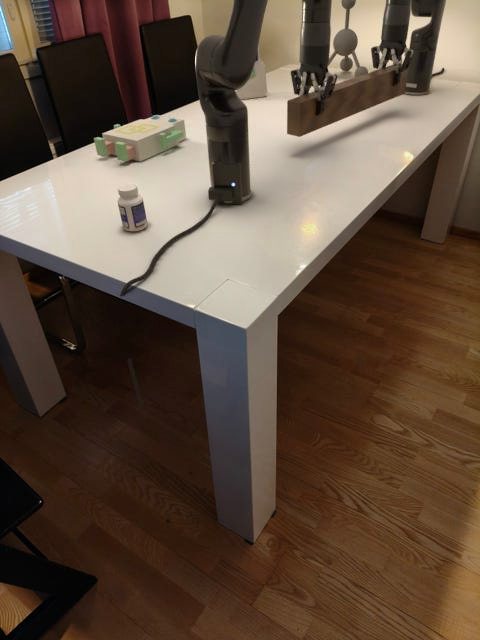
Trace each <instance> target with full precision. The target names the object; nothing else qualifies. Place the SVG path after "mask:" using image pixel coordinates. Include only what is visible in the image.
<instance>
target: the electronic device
mask: <svg viewBox="0 0 480 640" xmlns="http://www.w3.org/2000/svg"><path fill="white" fill-rule="evenodd" d="M260 49H261V48H260V43H259V44H258V50H257V55H256V60H255V64H254V68H253V71H252V74H251V77H250V78H249V80H248V82H247V83H246V84H245V85H244V86H243V87H242V88H240V89H238V90H235V91H236V93H237V95H238V97H239V98H240V100H241V101H242V100H247V99H255V98H256V99H257V98H265V97H266V96H267V94H268V84H267V83H268V82H267V75H266V74H267V73H266V66H265V62H264V61H263V60H262V59H261V56H260V52H261V50H260Z"/></svg>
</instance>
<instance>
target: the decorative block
mask: <svg viewBox="0 0 480 640" xmlns="http://www.w3.org/2000/svg"><path fill="white" fill-rule="evenodd" d="M186 133H187V132H186V124H185V119H183V118H177V117H170V116H166V115H160V114H155V115H152V116H151V117H148V118H145V119H141V118H140V119H137V120H134V121H132V122H129V123H127V124H123V125H122V126H121V124H119V123H116V124H113V129H110V130H108V131H105V132H102V133H101V135H102V137H100V136H97V137H93V142H94V145H95V150H96V155H97V156H99V157H107V156H109V155H111V156H116V158H117V160H118V161H120V162H128V161H130V160H132V161H137V162H143V161H145V160H147V159H149V158H152V157H155V156H156V155H158V154H161V153H163V152H165V151H167V150H170V149H172V148H175V147H176V146H178V143H180V142H182V141H185V140H186V139H187V134H186Z"/></svg>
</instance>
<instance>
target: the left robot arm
mask: <svg viewBox="0 0 480 640" xmlns="http://www.w3.org/2000/svg"><path fill="white" fill-rule="evenodd" d="M268 3H269V0H233V5H232V10H231V14H230V17H229V23H228V27H227V30H226V34H225V35H223V34H222V35H220V34H209V35H207V36H206V37H203V39H201V41H200V42H199V44H198V46H197V47H196V51H195V58H194V59H195V60H194V65H195V66H194V68H195V77H196V83H197V84H196V85H197V91H198V93H197V94H198V99H199V105H200V108H201V111H202V113H203V114H204V122H205V132H206V144H207V155H208V166H209V167H208V168H209V179H210V187H208V191H207V193H208V200H209V201H214V202H213V203H212V204H211V207H210V208H209V210H208V212H207V213H206V215H205V216H204V217H203V218H202V219H201V220H200V221H198V222H197V223H196V224H194V225H193V226H191V227H189V228H187V229H185V230H184V231H182V232H179V233H178V234H176V235H174V236H173V237H172V238H170V239H169V240H167V242H165V243H164V244H163V245H162V247H160V249H159V250H158V251H157V252H156V253H155V255H154V256H153V258H152V259H151V262H150V264H149V266H148V268H147V270H146V271H145V272H144V273H143V274H141V275H139V276H138V277H134V278H132V279H130V280H129V281H127V282H126V283H125V284H124V286H123V287H122V289H121V292H120V294H119V297H124V296H125V295H126V292H127V290H128V289H129V288H130V287H131V286H133V285H134V284H137V283H139V282H141V281H143V280H145V279H146V278H147V277H148V276H149V275H150V274H151V272H153V269H154V267H155V264H156V263H157V261H158V259H159V257H160V256H161V255H162V253H164V251H165V250H166V249H167V248H168V247H169V246H170V245H171V244H173V243H174V242H176V241H177V240H179V239H180V238H182V237H184V236H186V235H188V234H189V233H191V232H193V231H195V230H196V229H198V228H199V227H200V226H202V225H203V224H204V223H206V221H207V220H208V219H209V218H210V217H211V215H212V213H213V212H214V210H215V209H216V207H217V205H242V204H243V202H246V201H248V200H250V198H251V196H252V189H251V165H250V162H251V161H250V138H249V135H250V134H249V111H248V106H247V105H246V103H245V102H244V101H242V99H241V100H240V98H239V97H238V95H237V93H236V91H235V90H238V89H240V88H242V87H243V86H244V85H245V84H246V83H247V82H248V80H249V78H250V77H251V74H252V71H253V68H254V64H255V60H256V55H257V50H258V44H260V39H261V34H262V29H263V23H264V18H265V13H266V9H267V6H268ZM332 3H333V0H301V8H302V9H301V25H300V32H299V64H300V65H299V68H296V69H293V70H290V77H291V83H292V84H291V85H292V89H293V94H294V95H296V96H298V97H299V96H302V95H305V94H308V93H310V90H311V88H312V87H313V92H314V91H315V92H316V97H317V101H316V115H317V116H319V115H322V114H323V112H324V105H325V99H328V98H331V97H332V94H333V90H334V87H335V84H337V81H338V74H336V73H334V74H332V73H331V72H330V71H329V66H328V67H327V65H328V62H329V58H330V50H331V49H330V48H331V37H332V35H331V34H332V28H331V27H332V26H331V19H332ZM126 360H127V363H128V368H129V372H130V375H131V379H132V383H133V387H134V391H135V395H136V398H137V402H138V407H139V409H143V408H144V404H143V399H142V395H141V391H140V388H139V387H140V386H139V383H138V379H137V376H136V372H135V368H134V364H133V360H132V358H127V359H126Z"/></svg>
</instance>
